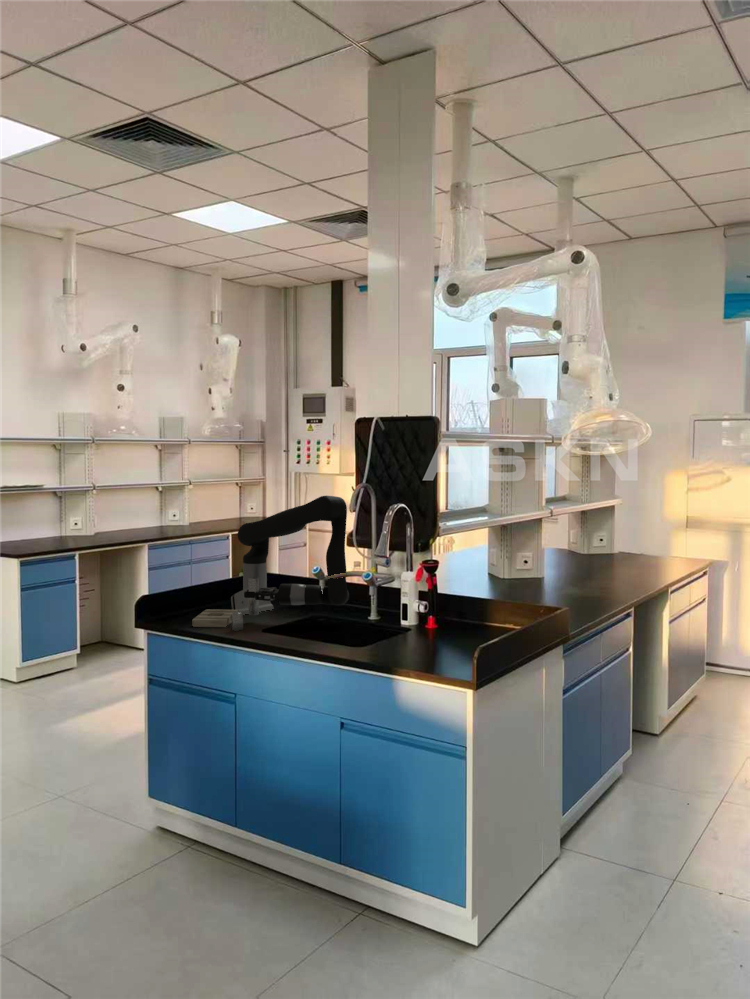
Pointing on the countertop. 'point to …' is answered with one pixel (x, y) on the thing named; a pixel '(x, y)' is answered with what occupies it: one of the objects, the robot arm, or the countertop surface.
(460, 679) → the countertop surface
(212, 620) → the hole plate
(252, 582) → the long pin
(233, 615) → the short pin
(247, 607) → the hinge
